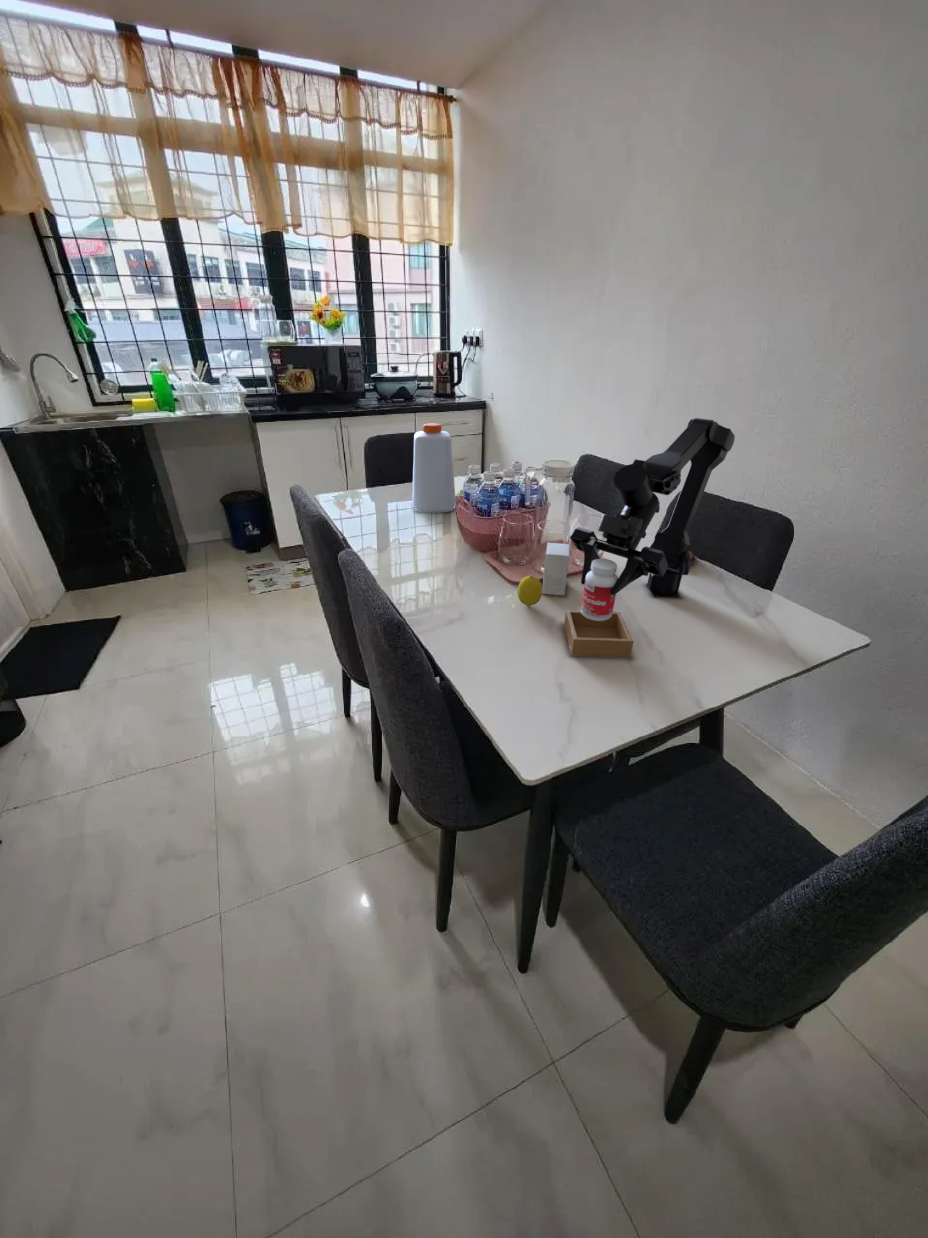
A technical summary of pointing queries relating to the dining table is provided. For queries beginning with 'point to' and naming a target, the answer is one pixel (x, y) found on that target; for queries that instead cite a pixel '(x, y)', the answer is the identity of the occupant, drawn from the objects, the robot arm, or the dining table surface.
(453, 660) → the dining table surface
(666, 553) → the robot arm
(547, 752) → the dining table surface
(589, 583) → the pill bottle
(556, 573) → the small box
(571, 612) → the open box
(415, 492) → the plastic bottle
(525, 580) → the lemon
